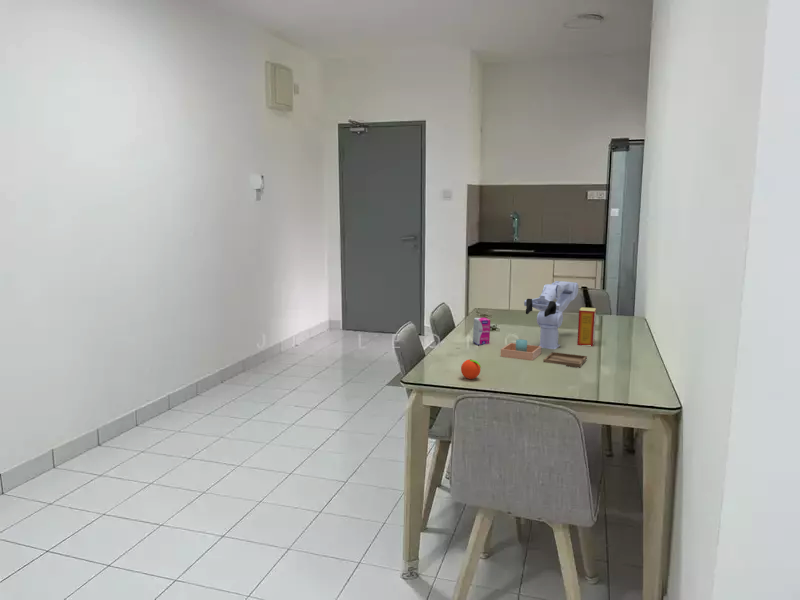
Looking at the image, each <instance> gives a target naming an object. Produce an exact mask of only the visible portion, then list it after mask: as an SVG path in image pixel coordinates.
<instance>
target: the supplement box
mask: <svg viewBox="0 0 800 600" xmlns="http://www.w3.org/2000/svg"><path fill="white" fill-rule="evenodd" d="M472 331H473V333H472V344H474V343H475V345H476V346H483V345H490V336H491V335H490V334H491V319H490V318H487V317H474V318H473V330H472Z"/></svg>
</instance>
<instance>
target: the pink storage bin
mask: <svg viewBox="0 0 800 600" xmlns="http://www.w3.org/2000/svg"><path fill="white" fill-rule="evenodd" d="M541 354H542V348H541V346H539V345H532V344H527V352H523V351H516V342H510V343H508V344H506V345H504V347H502V348H500V357H503V358H508V359H509V358H511V359H517V360H525V361H534V360H535V359H536V358H537V357H539V356H540V355H541Z"/></svg>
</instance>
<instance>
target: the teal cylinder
mask: <svg viewBox="0 0 800 600" xmlns="http://www.w3.org/2000/svg"><path fill="white" fill-rule="evenodd" d="M515 343H516V351H523V352H527V345H528V340H527V339H522V338H521V339H520V338H519V339H516V340H515Z"/></svg>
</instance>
